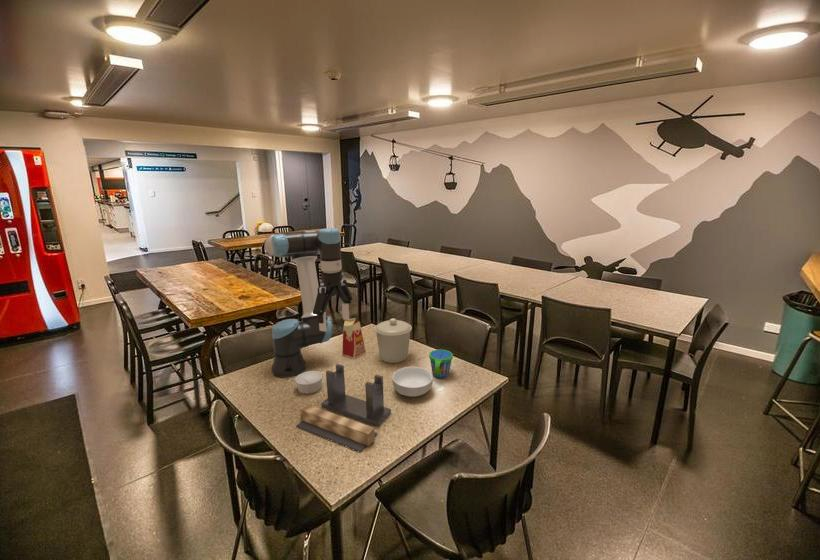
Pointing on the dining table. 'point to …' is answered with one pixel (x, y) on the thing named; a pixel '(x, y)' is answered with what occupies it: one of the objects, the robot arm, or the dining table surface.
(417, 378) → the cereal bowl
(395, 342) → the canister
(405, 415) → the dining table surface
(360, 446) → the black rubber mat
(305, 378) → the ramekin
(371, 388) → the stand
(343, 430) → the maple rail
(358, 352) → the milk carton
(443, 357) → the snack cup
